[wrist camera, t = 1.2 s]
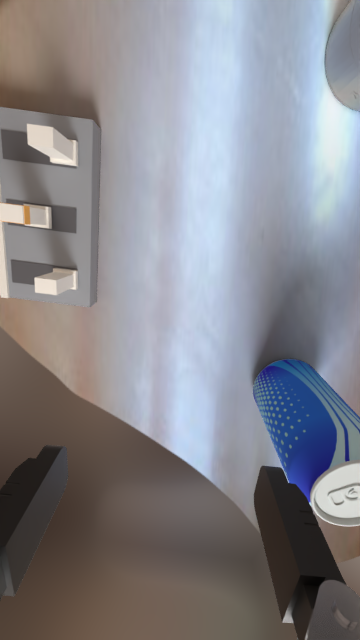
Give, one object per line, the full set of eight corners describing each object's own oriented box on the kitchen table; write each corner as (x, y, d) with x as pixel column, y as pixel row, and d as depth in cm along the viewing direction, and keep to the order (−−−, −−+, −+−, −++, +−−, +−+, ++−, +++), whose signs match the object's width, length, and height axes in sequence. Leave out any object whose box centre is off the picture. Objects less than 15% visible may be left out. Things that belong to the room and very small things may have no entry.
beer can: (261, 348, 34) (324, 442, 19) (324, 361, 34) (435, 464, 19) (242, 402, 36) (284, 524, 21) (301, 414, 37) (382, 542, 22)
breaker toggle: (26, 204, 26) (-5, 198, 22) (51, 207, 26) (24, 202, 22) (28, 225, 27) (-3, 223, 22) (51, 228, 27) (25, 227, 22)
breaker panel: (1, 116, 26) (-63, 75, 20) (101, 129, 27) (71, 93, 20) (14, 291, 32) (-33, 307, 25) (96, 301, 32) (72, 320, 25)
